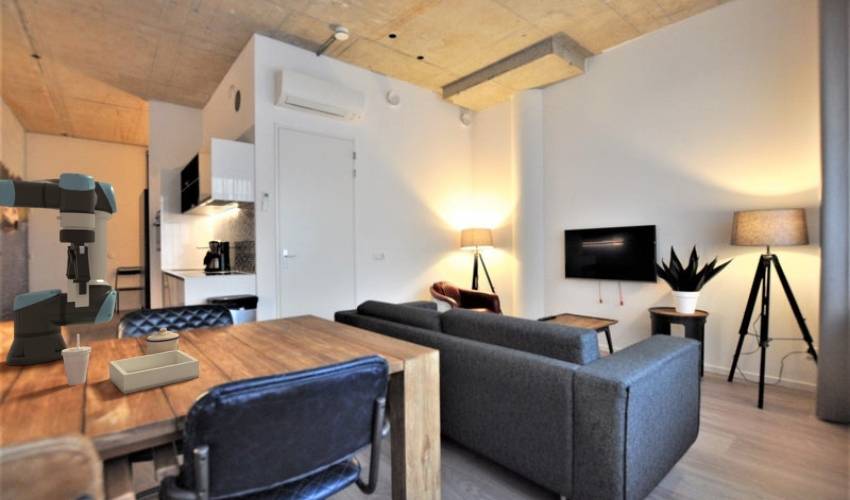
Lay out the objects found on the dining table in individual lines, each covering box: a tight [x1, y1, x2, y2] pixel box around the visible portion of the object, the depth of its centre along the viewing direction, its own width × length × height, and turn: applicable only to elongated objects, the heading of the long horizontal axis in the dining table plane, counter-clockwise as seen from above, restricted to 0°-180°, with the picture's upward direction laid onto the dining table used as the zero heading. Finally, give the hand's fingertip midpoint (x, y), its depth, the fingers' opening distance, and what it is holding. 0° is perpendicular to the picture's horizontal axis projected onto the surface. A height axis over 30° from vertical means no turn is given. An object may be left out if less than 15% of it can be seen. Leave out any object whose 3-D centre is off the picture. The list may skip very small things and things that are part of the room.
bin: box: [108, 349, 200, 395], centre depth 116 cm, size 18×18×5 cm
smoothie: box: [61, 333, 92, 386], centre depth 111 cm, size 6×6×14 cm
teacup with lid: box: [145, 327, 180, 355], centre depth 131 cm, size 12×9×12 cm
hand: (77, 304), depth 111 cm, fingers open, 13 cm apart
